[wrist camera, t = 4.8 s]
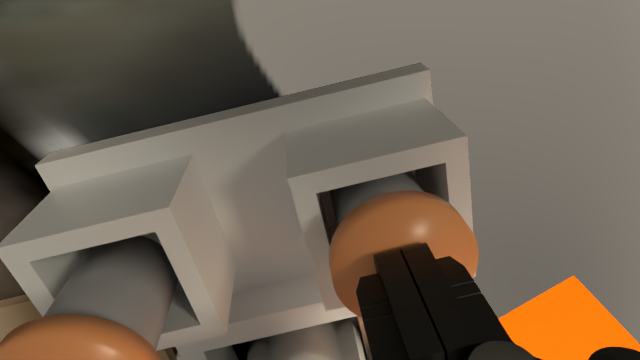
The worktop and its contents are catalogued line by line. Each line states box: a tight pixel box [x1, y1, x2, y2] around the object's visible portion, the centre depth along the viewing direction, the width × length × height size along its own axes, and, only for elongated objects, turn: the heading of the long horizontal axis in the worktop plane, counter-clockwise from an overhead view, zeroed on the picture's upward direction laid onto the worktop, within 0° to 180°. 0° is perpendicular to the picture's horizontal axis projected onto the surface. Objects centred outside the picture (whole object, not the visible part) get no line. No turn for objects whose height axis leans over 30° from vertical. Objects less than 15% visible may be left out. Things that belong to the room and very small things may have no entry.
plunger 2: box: [329, 171, 479, 318], centre depth 14 cm, size 4×4×5 cm
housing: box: [0, 63, 476, 360], centre depth 19 cm, size 15×18×5 cm
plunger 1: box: [0, 236, 178, 360], centre depth 13 cm, size 4×4×5 cm
